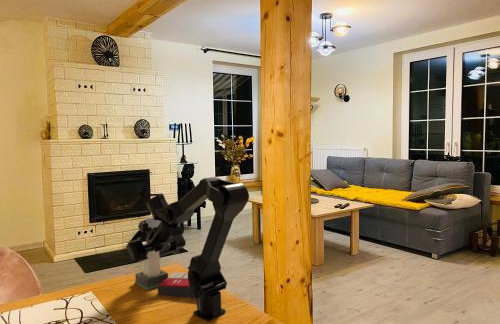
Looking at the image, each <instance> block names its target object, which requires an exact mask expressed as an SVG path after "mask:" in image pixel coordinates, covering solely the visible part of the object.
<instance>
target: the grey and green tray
mask: <svg viewBox="0 0 500 324" xmlns="http://www.w3.org/2000/svg"><path fill="white" fill-rule="evenodd" d="M134 275H135V276H134V277H135V280H134V284H136V285H137V286H139V287H141V288H142V289H144V290H146V291H150V290H152V289H155V288H158V286H159V284H160V283H162V282H163V281H164V280H165V279H167V278H168V277H169V274H168V272H166V271H165V270H162V269H160V274H159V275H156V276H153V277H150V278H147V277H145V276H143V270H142V271H140V272H137V273H135V274H134Z"/></svg>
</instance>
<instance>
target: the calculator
mask: <svg viewBox="0 0 500 324" xmlns="http://www.w3.org/2000/svg"><path fill="white" fill-rule="evenodd" d="M212 283H213V282H212ZM212 283H209V284H212ZM209 284H207V285H209ZM207 285H204V286H202V287H205V286H207ZM157 295H159V296H166V297H176V298H189V299H196V300H197V298H194V295H192V294H191V290H190V286H189V282H188V272H180V271H179V272H176V271H175V272H172V273H171V274H170V275H168V278H167V279H165V280H164V281H163V282H162V283H160V284H159V286H158V287H157Z"/></svg>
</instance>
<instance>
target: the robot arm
mask: <svg viewBox="0 0 500 324" xmlns="http://www.w3.org/2000/svg"><path fill="white" fill-rule="evenodd" d="M249 199H250V194H249V191H248V188H247V186H246V185H245V184H243V183H241V182H238V183H237V182H234V181H231V180H224V179H222V178H219V177H216V176H211V177H206V178H205V177H204V178H202V179H200V181H199V182H198V183H197V184H196V185H195V186H194V187H193V188H192V189H190V191H188V193H186V194H185V195H184V196H183V197H182V198H180V199H179V200H177V201H173V202H171V203H168V202H167V199H166V198H165V196H164V194H163V193H157V194H156V195H155V196H153V197H151V198H150V199H148V200H147V202H146V206H147V209H148V210H149V212H150V214H151V216H152V217H149V218H145V219H143V220H141V221H140V222H139V224H138V227H137V228H138V229H139V232H141V233H146V234H147V235H146V239H148V240H150V244H146V245H143V243H142V242H143V241H142V239H140V238H139V239H133V240H131V241H128V242H127V243H126V244H127V245H126V246H125V249H126V250H127V252H128V255H129V256H130V259H131V262H134V263H137V262H138V263H139V264H140V263H142V261H144V260H146V259H148V257H147V254H148V252H151V251H155V252H158V251H159V258H160V257H162V256H164V255H167V254H170V253H173V252H176V251H178V250H180V249H183V248H184V247H185V246H186V239H185V238H184V235H183V234H184V231H183V229H182V226H181V223H184V222H189V221H190V219H191V218H192V217H193V216H194V213H195V209H197V208H198V207H200V205H202V204H203V203H204V202H205V201H206V200H208V201H210V202H211V203H212V207H213V211H214V216H213V219H212V223H211V224H210V227H209V231H208V233H207V236H206V239H205V241H204V245H203V247H202V250H201V254H198V255H194V256H191V259H190V262H189V265H188V267H187V270H188V271H187V273H188V282H189V286H190V290H191V294H192V295H194V298H197V299H196V310H194V311H193V315H194V316H197V317H200V318H201V319H203V320H206V321H208V322H210V321H211V320H213V319H216V318H217V317H219V316H221V315H223V314H224V313H226V309H225V308H222V292H221V291H223V290H227V289H226V288H227V285H228V282H227V281H226V279H225V277H224V275H223V273H222V272H221V270H222V266H221V263H220V261H219V260H220V257H221V255H222V252H223V248H224V246H225V244H226V241H227V238H228V236H229V232H230V230H231V227H232V224H233V222H234V219H235V218H236V217H237V216H238V215H239V214H240V213H241V212H243V210H244V208H245V207H246V205H247V204H248V203H249ZM151 248H152V249H151ZM212 282H213V283H212ZM209 283H212V284H209ZM207 284H209V285H207ZM204 285H207V286H205V287H202V286H204ZM194 298H193V299H194Z"/></svg>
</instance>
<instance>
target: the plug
mask: <svg viewBox="0 0 500 324" xmlns="http://www.w3.org/2000/svg"><path fill="white" fill-rule="evenodd" d="M142 243H143V245H146V244H150V240H148V239H147V238H146V239H145V241H142ZM151 249H152V248H151ZM147 257H148V259H146V260H144V261H142V262H141V263H142V271H143V276H145V277H147V278H150V277H153V276H156V275H159V274H160V270H161V264H160V261H161V260H160V257H159V251H158V252H155V251H151V252H148V254H147Z"/></svg>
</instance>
